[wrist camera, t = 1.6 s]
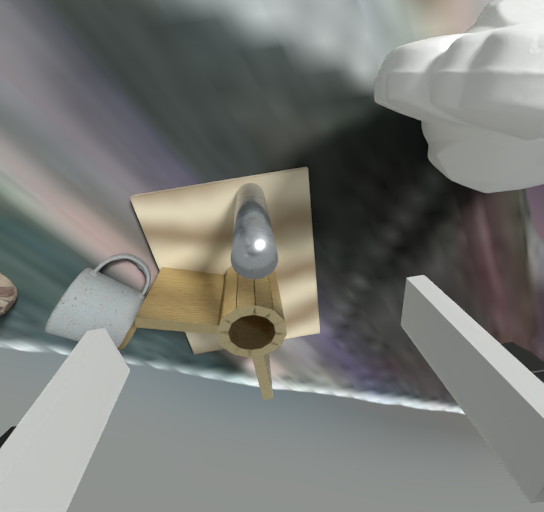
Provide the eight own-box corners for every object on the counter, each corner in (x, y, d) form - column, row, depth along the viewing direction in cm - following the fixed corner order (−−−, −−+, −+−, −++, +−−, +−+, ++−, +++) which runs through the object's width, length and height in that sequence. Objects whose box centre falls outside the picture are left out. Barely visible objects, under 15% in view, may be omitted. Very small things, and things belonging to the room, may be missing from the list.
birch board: (133, 195, 29) (129, 197, 28) (306, 166, 29) (307, 168, 28) (195, 348, 40) (194, 354, 40) (318, 328, 41) (319, 332, 40)
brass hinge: (158, 267, 32) (130, 318, 24) (271, 248, 32) (280, 293, 24) (194, 353, 39) (181, 414, 32) (286, 338, 40) (296, 394, 32)
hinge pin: (234, 185, 28) (225, 242, 16) (262, 180, 28) (274, 233, 16) (239, 212, 30) (236, 282, 17) (266, 207, 30) (280, 275, 17)
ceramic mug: (136, 324, 37) (112, 370, 30) (73, 299, 34) (32, 344, 28) (170, 268, 34) (151, 306, 27) (103, 236, 31) (64, 270, 24)
